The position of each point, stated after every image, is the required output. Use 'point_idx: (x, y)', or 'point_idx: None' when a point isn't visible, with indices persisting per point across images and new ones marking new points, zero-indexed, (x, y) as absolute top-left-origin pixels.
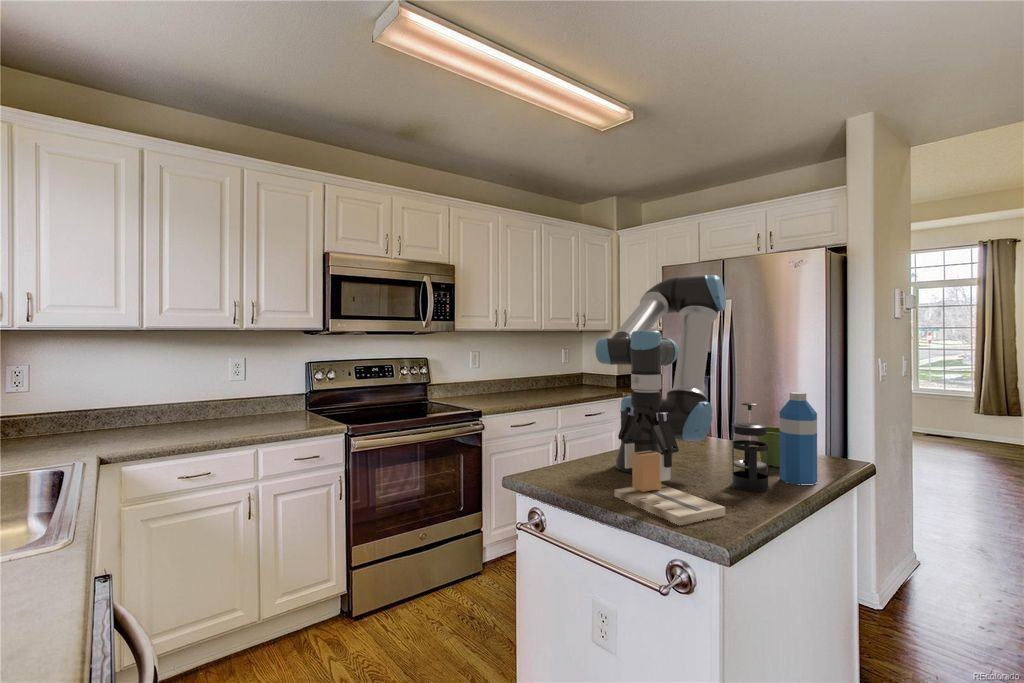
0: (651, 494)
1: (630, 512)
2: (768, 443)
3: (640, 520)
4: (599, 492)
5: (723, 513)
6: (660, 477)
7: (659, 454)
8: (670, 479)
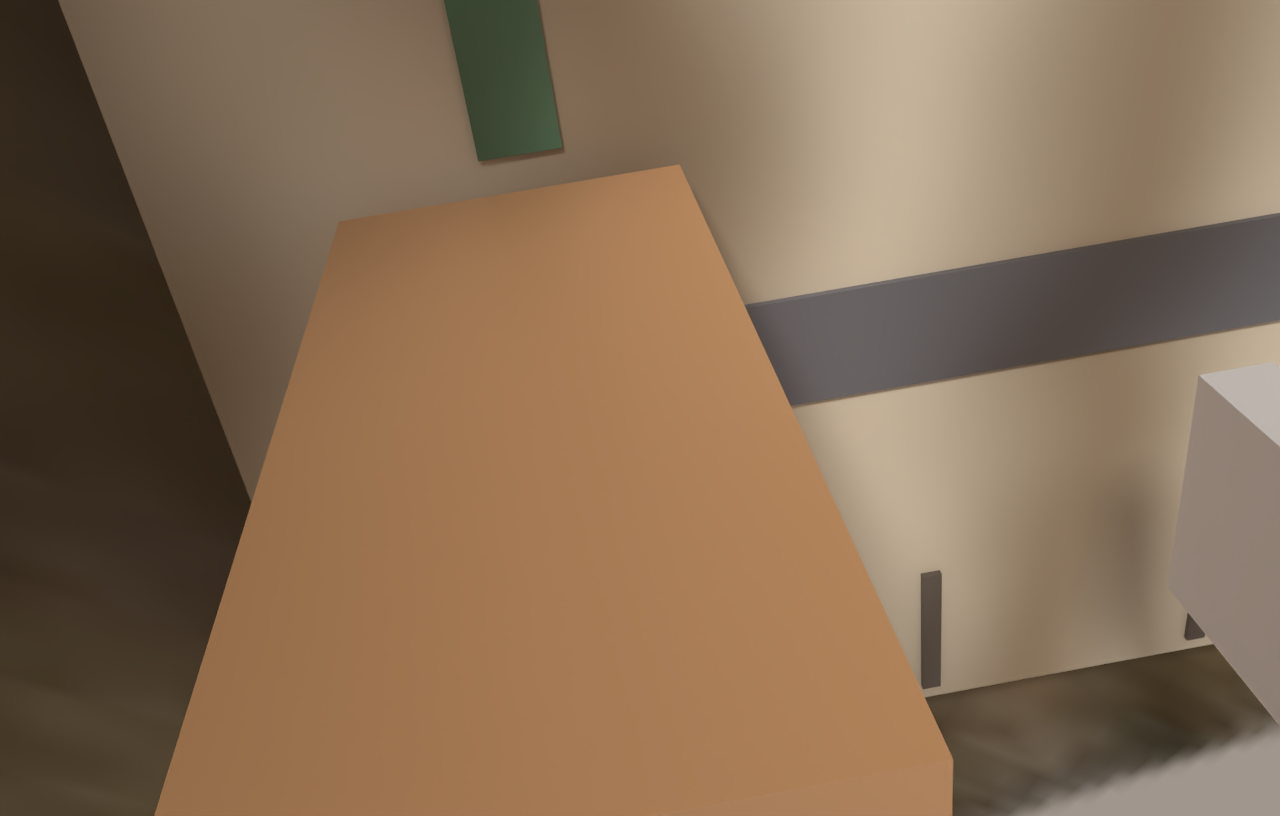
0: (811, 439)
1: (974, 740)
2: None
3: (1220, 742)
4: (103, 795)
5: None
6: (1224, 629)
7: (931, 791)
8: (1274, 365)
